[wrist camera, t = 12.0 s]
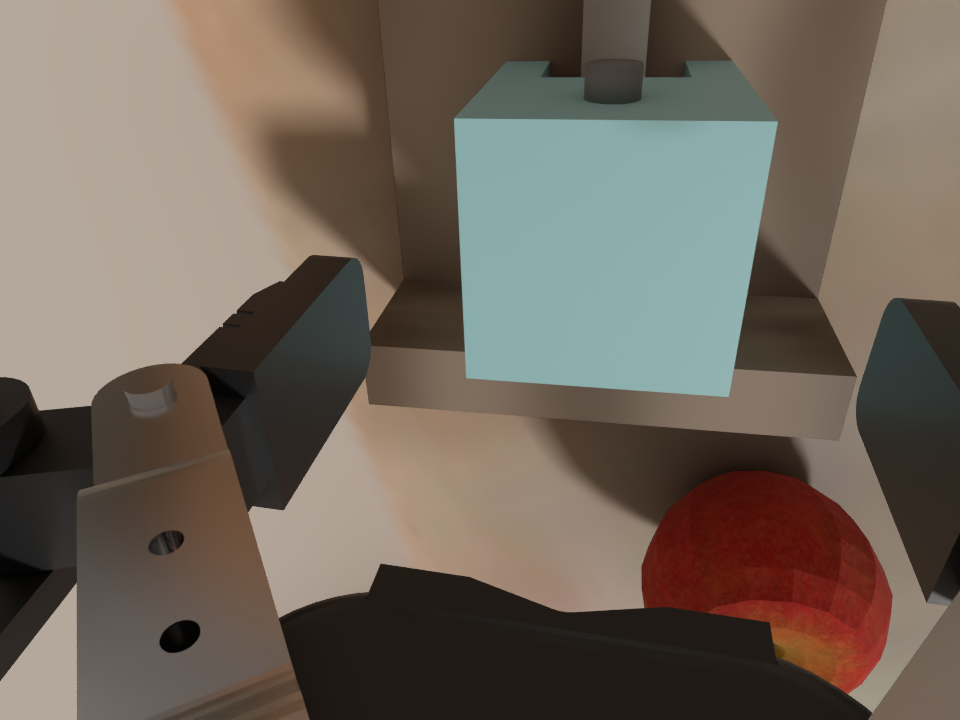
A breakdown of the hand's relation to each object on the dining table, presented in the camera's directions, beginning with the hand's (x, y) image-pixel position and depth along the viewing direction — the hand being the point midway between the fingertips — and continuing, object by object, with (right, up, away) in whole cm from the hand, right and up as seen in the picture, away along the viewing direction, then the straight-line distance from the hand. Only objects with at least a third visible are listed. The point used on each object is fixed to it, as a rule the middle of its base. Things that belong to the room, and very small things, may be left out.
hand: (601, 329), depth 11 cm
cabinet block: (+2, +5, +10) cm, 11 cm away
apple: (+8, -6, +17) cm, 20 cm away
